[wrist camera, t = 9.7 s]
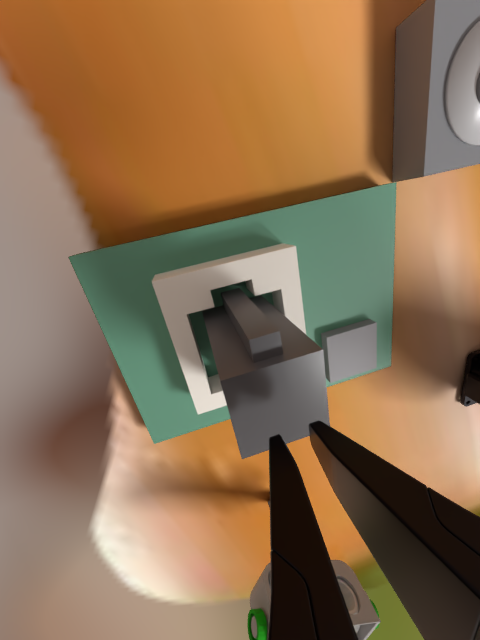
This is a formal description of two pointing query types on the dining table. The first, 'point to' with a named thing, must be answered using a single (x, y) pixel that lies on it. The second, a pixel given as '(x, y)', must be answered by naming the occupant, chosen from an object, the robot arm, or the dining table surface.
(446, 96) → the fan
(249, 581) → the dining table surface
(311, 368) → the plug
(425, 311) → the dining table surface
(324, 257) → the board
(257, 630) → the mechanical component
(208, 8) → the dining table surface
